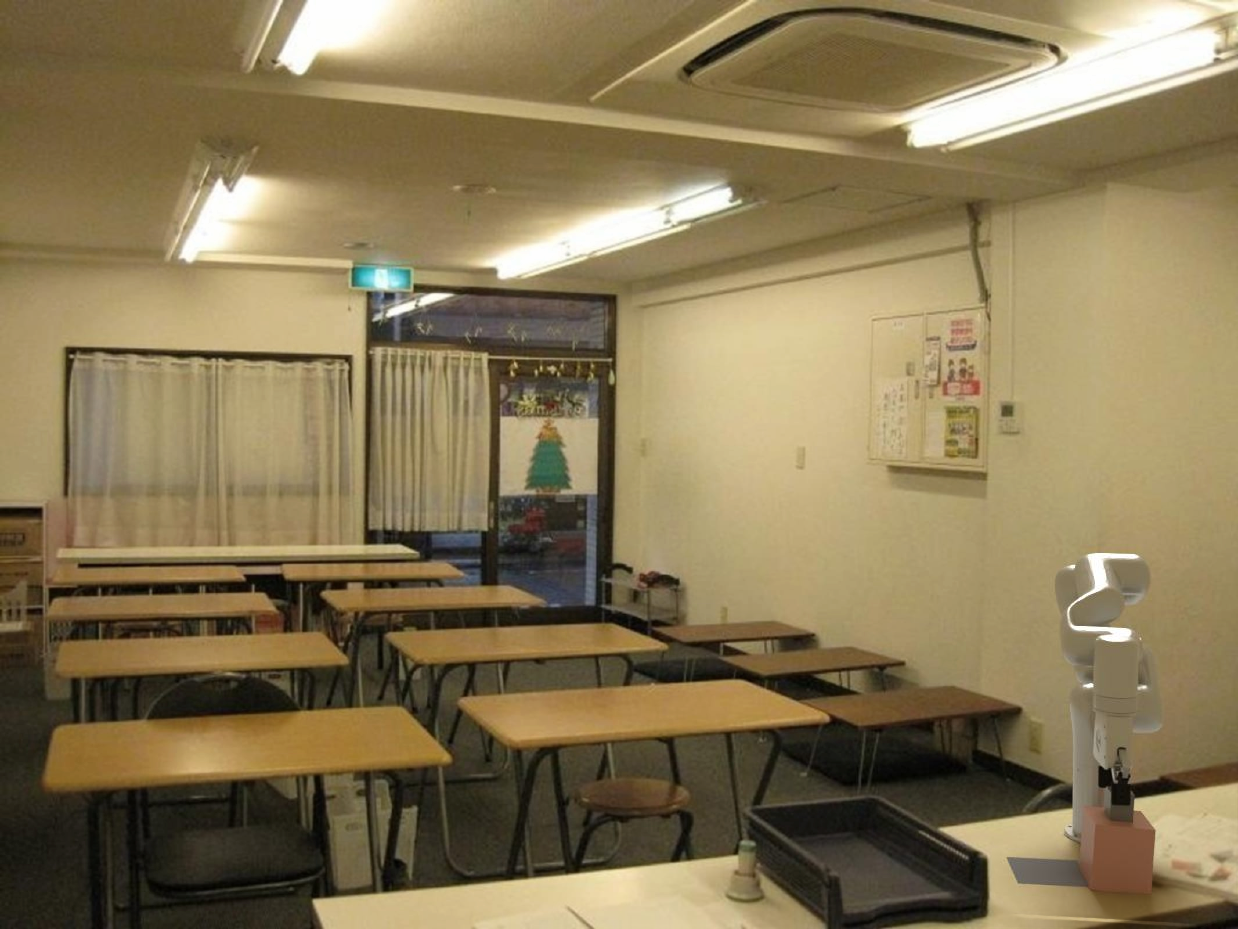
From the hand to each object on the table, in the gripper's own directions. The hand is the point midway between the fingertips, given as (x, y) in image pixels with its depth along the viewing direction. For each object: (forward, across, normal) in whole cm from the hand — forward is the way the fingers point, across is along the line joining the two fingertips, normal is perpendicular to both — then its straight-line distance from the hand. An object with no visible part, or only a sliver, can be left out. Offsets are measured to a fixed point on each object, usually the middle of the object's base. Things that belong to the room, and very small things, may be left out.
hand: (1113, 796), depth 223 cm
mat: (+16, -2, -11) cm, 19 cm away
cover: (+16, +1, 0) cm, 16 cm away
